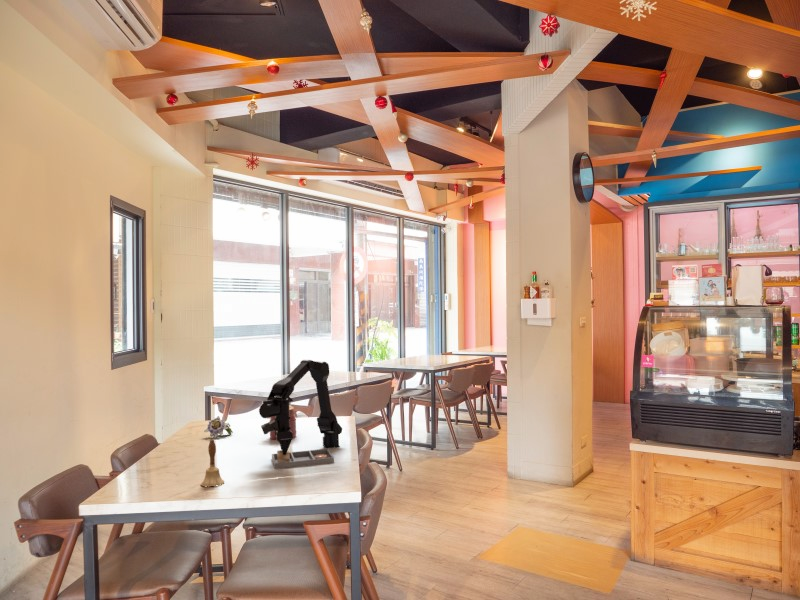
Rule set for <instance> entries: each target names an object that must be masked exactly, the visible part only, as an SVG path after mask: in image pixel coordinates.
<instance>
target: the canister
mask: <svg viewBox="0 0 800 600" xmlns="http://www.w3.org/2000/svg"><path fill="white" fill-rule="evenodd" d="M294 409H295V407H294V406H292V405H290V404H289V412H290V429H291V430H290V431H292V433H293V438H296V437H297V422H296V421H297V418H296V414H297V412H296V411H295V410H294ZM274 417H275V416H273V417H269V421H268V422H270V421H273V420H274ZM269 436H270V437H269V438H270V439H271V440H276V439H277V438H276V435H275V433H274V430H273V431H271V432H269ZM293 438H292V439H293Z"/></svg>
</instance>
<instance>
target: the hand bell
mask: <svg viewBox="0 0 800 600" xmlns="http://www.w3.org/2000/svg"><path fill="white" fill-rule="evenodd" d="M207 448H208V449H207V450H208V455H209V467H208V468H207V469H205V476H204V479H203V480H202V481H201V483H200V486H201V485H202V486H216V485H220V484H223V483H224V482H225V480H224V479H222V477H221V473H220V468H218V467H216V462H215V461H216V460H215V457H216V452H217V446H216V443H215V439H210V441H209V444H208V447H207ZM224 484H225V483H224ZM224 484H223V485H224ZM202 486H201V487H202ZM220 486H221V485H220ZM216 487H217V486H216Z"/></svg>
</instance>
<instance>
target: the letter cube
mask: <svg viewBox="0 0 800 600" xmlns="http://www.w3.org/2000/svg"><path fill="white" fill-rule="evenodd" d="M289 452H290V450H289V449H288V451H287V453H286V455H283V452H282V450H281V449H280V450H277V451H276V454H277V458H278V463H281V462H290V454H289Z"/></svg>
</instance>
